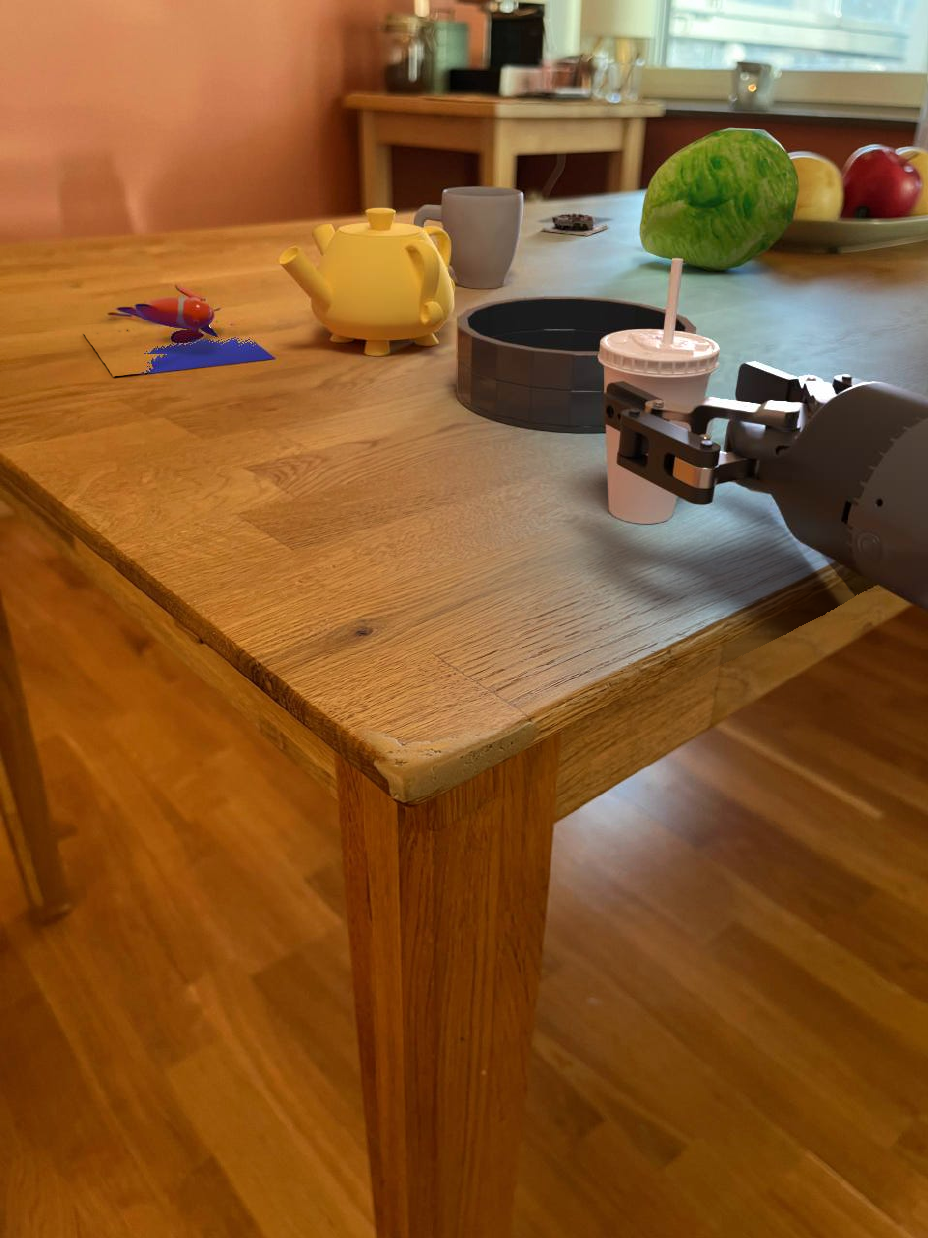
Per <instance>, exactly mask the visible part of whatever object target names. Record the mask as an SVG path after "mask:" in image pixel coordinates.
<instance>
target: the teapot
mask: <svg viewBox="0 0 928 1238" xmlns="http://www.w3.org/2000/svg"><path fill="white" fill-rule="evenodd" d="M365 215H366V218H367V221H368V222H359V223H357V222H356V223H350V224H346V225H342V226H340V227H338V229H336V231H335V228H334V227H333V224H331V223H326V224H321V225H319V226H318V227H316V228H315V229H313V231H312V232H311V237H312V238H313V240H314V242H315V244H316V246H317V249H318V251H319V253H320V255H321V257H320V260H319V262H318V264H317V266H316V267H315V265H314V264H313V263H312V262H311V260H310V259H309V258H308V257H307V255H306V254H305V253H304V252H303V250H302V249H301V248H300V247H299V246H298V245H292V246H291V247H289V248H287V249H286V250H285V251H283V253H282V254H281V255H280V257H279V260H278V263H279V264H280V266H281V267H282V268H283V269H284V270H285V272H287V274H289V276H290V277H291V278H292V279H293V280H294V281H295V283H296V284H297V285H298V286H299V287H300V288H301V289H302V290H303V291H304V293H305V294H306V295H307V296H308V297H309V298H310V305H311V306H310V307H311V310H312V313H313V315H314V316H315V317H316V318H317V320H318V321H319V322H320V323H321V324H322V325H323V326H324V327H325V329H326V330H328V332H330V333H331V336H330V338H329V341H330V342H332V343H351V342H354V341H355V339H357V340H366V341H365V346H364V351H363V353H364V355H367V356H371V357H372V356H373V357H380V356H381V357H382V356H387V355H389V354H390V353H391V349H390V341H399V340H409V339H412V342H413V344H415V345H417V346H424V347H428V346H429V347H431V346H436V345H438V344H439V341H438V339H437V338H436V336H435V334H434V333H436V332H438V331H439V330H440V329H441V328H442V327H443V326H444V325H445V324H446V322H448V320H449V318H450V317H451V316H452V314H453V312H454V309H455V291H456V283H455V282H454V280H453V278H451V275H450V274H449V267H450V266H449V263H450V256H451V242H450V238H449V236H448V234H447V233H446V232H445V231H444V230H443V228H440V227H438V226H434V225H427V226H426V225H425V227H423V228H422V227H419V226H416V225H414V224H409V223H402V222H394V220H395V217H396V210H395V209H393V208H390V207H371V208H368V209H366V210H365ZM432 236H434V237H435V238H436V241H437V246H436V245H435V243H434V242H433V239H432V238H431V237H432Z"/></svg>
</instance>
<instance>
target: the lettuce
mask: <svg viewBox="0 0 928 1238" xmlns="http://www.w3.org/2000/svg"><path fill="white" fill-rule="evenodd" d="M799 190H800V185H799V176H798V173H797V170H796V166H795V164H794V163H793V161H792V158H791V157H790V156H789V154H788V152H787V151H786V150H785V148H784V147H783V145H782V144H781V143H780V142H779V141H778V140H777V139H776V138H775V137H773V135H771V134H770V133H769V132H768V131H766V130H765V129H758V128H757V129H755V128H739V127H738V128H735V127H728V128H724V129H720V130H717V131H713V132H711V133H709V134H707V135H705V136H703V137H701V138H699V139H698V140H696V141H694V142H692V143H690V144H688V145H686V146H684V147H682V148H681V149H680V150H678V151H677V152H675V153H674V154H672V155H670V157H669V158H668V159H667V160H666V161H664V163H663V164H662V165H661V166H660V167H658V169H657V171H655V173H654V174H653V176H652V177H651V179H650V181H649V182H648V186H647V189H646V190H645V191H646V192H645V194H644V198H643V203H642V208H641V217H640V223H639V234H638V236H639V238H640V243H641V246H642V248H643V249H644V251H645V252H646V253H649V254H650V255H653V256H656V257H659V258H662V259H668V260H671V261H672V259H673V258H679V259H683V264H684V265H688V266H693V267H696V268H699V269H703V270H706V271H727V270H730V269H731V270H732V269H735V268H739V267H741V266H743V265H746V264H747V263H749V262H750V261H752V260H754V259H756V258H758V257H759V256H760V255H762V254H763V253H765V252H767V251H769V250H770V248H771V247H772V246H773V245H774V244H775V243H777V241H778V240H780V239H781V237H782V236H783V234H784V233H785V232H786V230H787V229H788V228H789V226H790V225H791V223H792V222H793V220H794V217H795V212H796V208H797V203H798V198H799V197H798V196H799Z"/></svg>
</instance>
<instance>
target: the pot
mask: <svg viewBox="0 0 928 1238" xmlns="http://www.w3.org/2000/svg"><path fill="white" fill-rule="evenodd" d="M665 315H666V308H665V309H664V308H661V307H657V306H652V305H649V304H644V303H640V302H633V301H627V300H619V299H615V298H614V299H613V298H602V297H601V298H600V297H588V296H563V295H562V296H561V295H560V296H559V295H558V296H556V295H554V296H553V295H550V296H549V295H548V296H547V295H545V296H531V297H515V298H507V299H502V300H496V301H491V302H490V301H489V302H486V303H482V304H479V305H477V306H474V307H471V308H468V309H465V310H464V311H463V312H462V313H461V314H460V315H459V316H457V317H456V344H455V345H456V346H455V347H456V353H455V355H456V356H455V358H456V359H455V361H456V362H455V363H456V364H455V365H456V366H455V384H456V385H455V386H456V396H457V399H458V400H459V402H460V403H461V404H462V405H463V406H464V407H466V408H467V409H468V410H470V411H472V412H473V413H474V414H477V415H479V416H482V417H484V418H487V419H488V420H492V421H495V422H499V423H503V424H506V425H510V426H514V427H520V428H524V429H529V430H530V429H531V430H536V431H544V432H545V431H547V432H555V433H569V434H571V433H572V434H602V433H605V434H606V424H605V423H604V421H603V409H604V398H605V393H604V365H603V364H601V363H600V362H599V360H598V355H599V352H600V341H601V339H602V338H603V337H605V336H606V335H609V334H611V333H615V332H619V331H625V330H635V329H660V330H664V324H665ZM675 331H680V332H686V333H691V334H695V335H697V327H696V326H695V325H694V324H693V322H692V321H690V320H689V319H688V318H687V317H685V316H683V315H680V314H678V313H677V314H676V322H675Z"/></svg>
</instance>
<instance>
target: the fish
mask: <svg viewBox="0 0 928 1238" xmlns="http://www.w3.org/2000/svg"><path fill="white" fill-rule="evenodd" d="M174 288H175V289H176V290H177V291H178V292H179V293H181V294H182V295H185V296H166V297H160V298H154V299H150V300H147V301H143V302H141V303H135V305H134V306H118V307H116V311H111V312H110V311H109V312H107V316H110V317H113V318H118V319H121V320H126V321H132V322H137V323H138V322H146V321H147V322H150V323H152V324H156V325H160V326H169V327H174V328H182V329H187V330H180V331H176V332H174V333H173V334H172V336H171V340H172V342H174V343H177V344H179V343H183V344H184V343H188V342H190V343H191V342H195V341H197V340H199V339H201V337H203V336H204V334H202V333H201V332H199V329H201V330H202V331H204V332H205V333H207V334H210V335H212V336H215V337H218V336H217V334H216V333H215V332H214V330H213V329H212V328H211V327H210V325H209V324H210V323H211V322H212V321H214V319H215V312H218V311H220V310H221V308H220V307H218V308H215V309H214V308H213V306H211V305H210V304H209V303H207V302H206V301H208V300H207V299H206V298H205V297H204V296H202V295H200V294H198V293H196V292H195V291H192V290H191V289H189V288H187V287H185V286H183V285H180V284H175V285H174Z"/></svg>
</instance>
